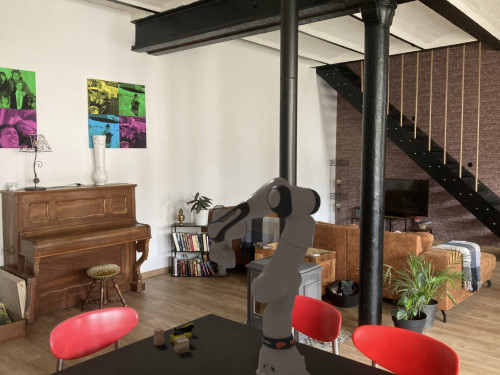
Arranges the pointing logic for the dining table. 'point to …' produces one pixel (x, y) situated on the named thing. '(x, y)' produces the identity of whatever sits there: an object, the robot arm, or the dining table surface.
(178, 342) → the maple block
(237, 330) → the dining table surface
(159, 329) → the terracotta cylinder
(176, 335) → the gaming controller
